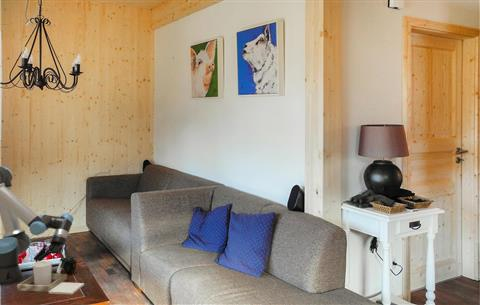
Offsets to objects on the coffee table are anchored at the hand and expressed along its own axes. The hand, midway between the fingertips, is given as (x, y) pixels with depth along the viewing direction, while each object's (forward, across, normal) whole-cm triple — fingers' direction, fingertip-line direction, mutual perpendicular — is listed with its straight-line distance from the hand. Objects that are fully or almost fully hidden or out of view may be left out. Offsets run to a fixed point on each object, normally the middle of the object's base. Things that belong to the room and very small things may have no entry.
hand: (46, 272), depth 230 cm
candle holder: (+6, +2, -4) cm, 7 cm away
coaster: (+9, -15, 0) cm, 17 cm away
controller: (-8, -3, -18) cm, 19 cm away
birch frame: (+5, +2, -4) cm, 7 cm away
